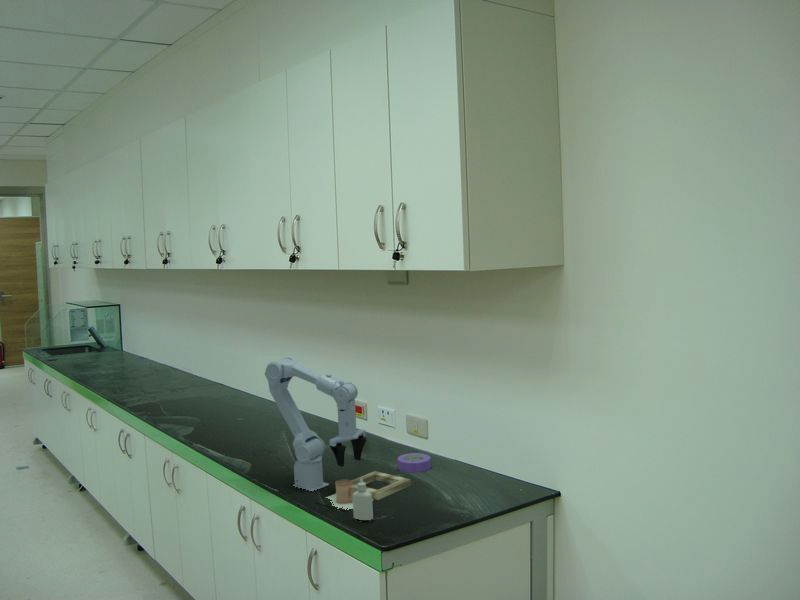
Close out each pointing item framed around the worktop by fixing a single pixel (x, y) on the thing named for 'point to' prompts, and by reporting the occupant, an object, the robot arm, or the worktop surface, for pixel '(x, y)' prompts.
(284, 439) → the worktop surface
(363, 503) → the eye dropper bottle
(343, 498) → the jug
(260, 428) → the worktop surface
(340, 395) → the robot arm
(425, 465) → the masking tape
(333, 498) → the mat
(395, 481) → the holder
